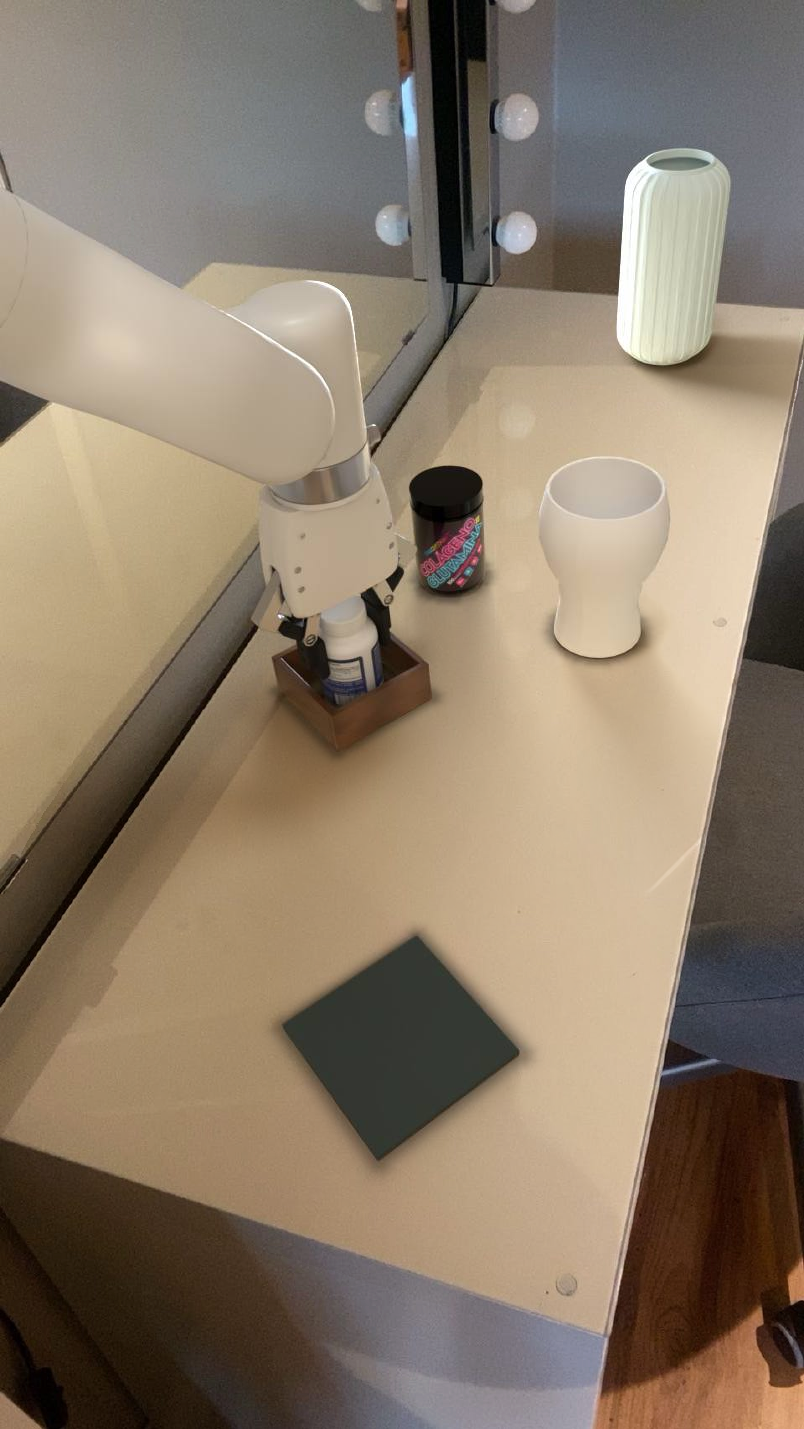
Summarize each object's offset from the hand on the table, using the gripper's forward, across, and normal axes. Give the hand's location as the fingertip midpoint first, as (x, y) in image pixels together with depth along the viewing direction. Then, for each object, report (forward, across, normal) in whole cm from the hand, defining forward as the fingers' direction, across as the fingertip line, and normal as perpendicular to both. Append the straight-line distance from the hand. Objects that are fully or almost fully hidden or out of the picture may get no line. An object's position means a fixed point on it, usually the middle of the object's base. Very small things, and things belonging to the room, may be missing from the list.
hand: (347, 652), depth 88 cm
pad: (+5, +16, +29) cm, 33 cm away
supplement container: (+5, -16, -8) cm, 19 cm away
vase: (+5, -64, -26) cm, 70 cm away
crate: (+5, 0, 0) cm, 5 cm away
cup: (+5, -22, +8) cm, 23 cm away
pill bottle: (+5, 0, 0) cm, 5 cm away
